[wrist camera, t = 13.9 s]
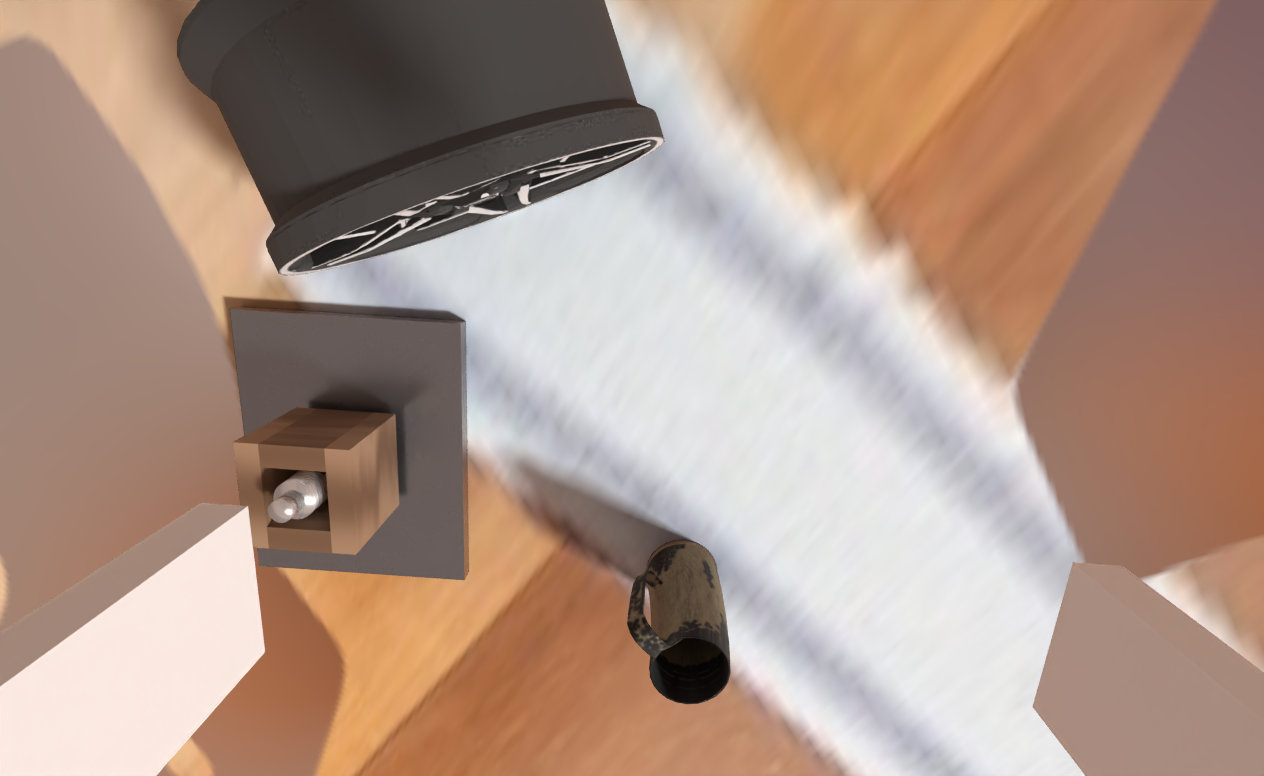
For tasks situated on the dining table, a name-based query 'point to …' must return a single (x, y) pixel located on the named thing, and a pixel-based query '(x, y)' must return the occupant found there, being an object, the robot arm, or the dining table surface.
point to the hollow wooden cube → (355, 474)
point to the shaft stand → (380, 383)
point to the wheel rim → (412, 113)
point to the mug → (682, 623)
